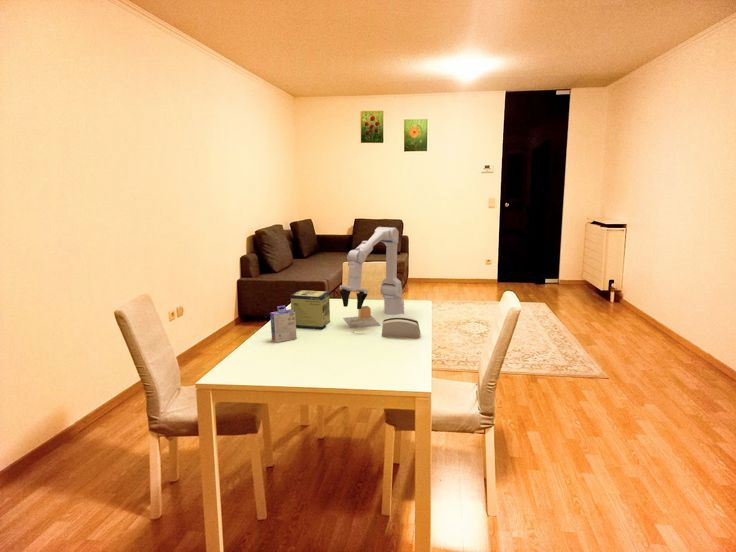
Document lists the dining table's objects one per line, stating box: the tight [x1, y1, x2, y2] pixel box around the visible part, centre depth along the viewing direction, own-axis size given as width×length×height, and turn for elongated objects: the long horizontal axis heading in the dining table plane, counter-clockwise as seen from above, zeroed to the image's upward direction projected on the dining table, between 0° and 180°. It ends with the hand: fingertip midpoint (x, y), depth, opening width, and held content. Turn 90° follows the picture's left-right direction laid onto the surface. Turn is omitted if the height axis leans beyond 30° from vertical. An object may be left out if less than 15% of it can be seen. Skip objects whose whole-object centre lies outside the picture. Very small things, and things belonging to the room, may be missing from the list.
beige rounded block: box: [381, 315, 421, 339], centre depth 220 cm, size 17×5×10 cm, turn 79°
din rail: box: [350, 316, 378, 327], centre depth 236 cm, size 11×7×2 cm, turn 104°
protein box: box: [290, 289, 331, 331], centre depth 237 cm, size 10×16×16 cm
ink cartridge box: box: [269, 304, 298, 343], centre depth 218 cm, size 10×6×14 cm, turn 121°
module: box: [357, 305, 372, 318], centre depth 246 cm, size 5×4×5 cm
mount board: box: [342, 315, 382, 329], centre depth 240 cm, size 14×18×1 cm
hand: (352, 307), depth 228 cm, fingers open, 7 cm apart
